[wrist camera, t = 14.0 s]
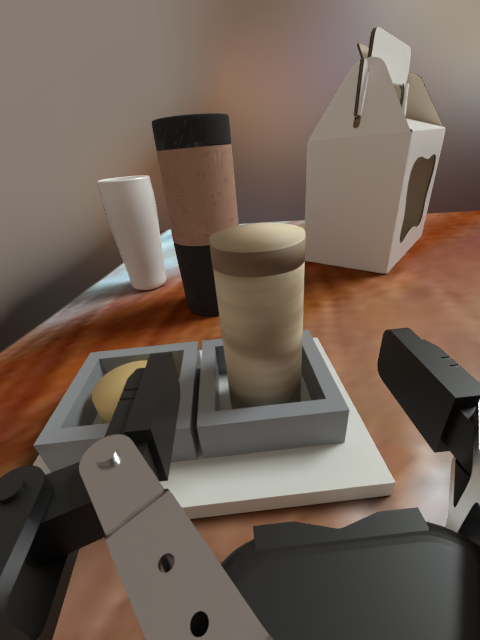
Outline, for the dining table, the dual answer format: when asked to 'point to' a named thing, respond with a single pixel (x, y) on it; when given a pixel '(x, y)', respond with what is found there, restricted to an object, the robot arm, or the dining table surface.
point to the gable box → (372, 162)
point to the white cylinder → (135, 228)
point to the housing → (230, 433)
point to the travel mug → (197, 196)
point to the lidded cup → (261, 310)
